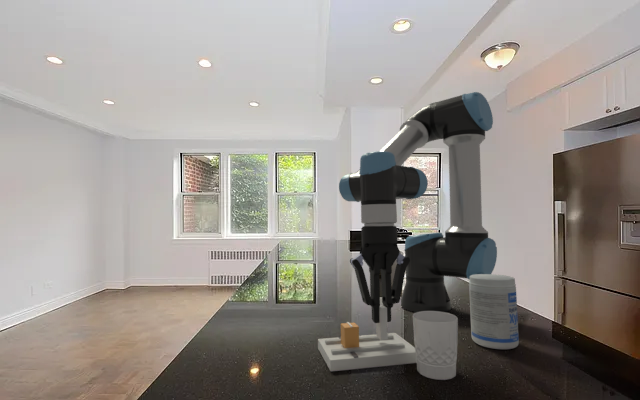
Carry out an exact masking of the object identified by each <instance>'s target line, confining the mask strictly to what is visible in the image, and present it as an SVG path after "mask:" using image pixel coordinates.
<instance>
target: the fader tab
mask: <svg viewBox="0 0 640 400" xmlns="http://www.w3.org/2000/svg"><path fill="white" fill-rule="evenodd" d="M340 336H341V344H342V345H343V346H344V348H353V347H359V336H360V327H359V325H358V324H357V323H355V322H349V321H346V322H344V323H340Z"/></svg>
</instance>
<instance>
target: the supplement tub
mask: <svg viewBox="0 0 640 400" xmlns="http://www.w3.org/2000/svg"><path fill="white" fill-rule="evenodd" d="M468 281H469V282H468V287H469V289H468V290H469V291H468V293H469V310H470V313H469V314H470V332H471V333H470V334H471V339H472V341H473V342H474V343H475V344H477V345H479V346H481V347H483V348H488V349H495V350H511V349H515V348H517V347H518V346H519V344H520V341H519V340H520V338H519V337H520V336H519V319H518V318H519V316H518V303H517V302H518V301H517V299H518V298H517V287H516V285H517V284H516V280H515V278H514V276H511V275H504V274H494V273H493V274H492V273H491V274H475V275H471V276H470V280H468Z"/></svg>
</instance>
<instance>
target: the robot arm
mask: <svg viewBox="0 0 640 400" xmlns="http://www.w3.org/2000/svg"><path fill="white" fill-rule="evenodd" d="M493 123H494V117H493V113H492V110H491V107H490V104H489V102H488V100H487V98H486V97H485V95H483V94H482V93H481V92H478V91H475V92H474V91H472V92H469V93H468V92H467V93H463V94H461V95H458V96H457V95H456V96H454V97H450V98H446V99H443V100H439V101H435V102H430V103H429V104H427V105H425V106H423V107H421V108H420V109H419V110H417V111H416V112H414V113H413V114H412V115H411V116H410V117H408V119H406V120H405V121H404V122H403V123H401V126H400V128H399V130H398V132H397V133H396V134H395V135H394V136H392V138H390V140H389V141H388V142H386V144H384V145H383V146H382V148H380V149H379V150H378V151H377V150H376V151H369V152H366V153H363V154H362V155H361V156H360V160H359V169H358V170H357V171H355V172H354V173H353V172H350V173H348V174H345V175H343V176H342V177H341V178H340V180H339V183H338V191H339V194H340V196H341V198H342V199H343V200H345V202H355V203H360V217H361V219H360V220H361V221H360V222H361V224H363V226H362V227H361V228H360V229H361V233H360V234H361V248H360V250H359V254H358V255H357V256H355V257H352V258H350V259H349V262H350V265H351V266H352V268H353V269H354V272H355V275H356V280H357V285H358V288H359V293H360V295H361V300H362V302H363V303H365V304H366V305H367V306H370V307H371V319H372V322H373V323H374V324H375V332H376V333H375V334H376V336H377V337H378V338H379V339H380V340H388V333H389V332H388V328H389V327H388V323H391V321H392V308H393V307H394V305H395V304H398V303H400V306H402V307H403V308H402V307H401V308H402V309H404V310H406V309H407V310H406V311H410V312H414V313H416V312H420V311H440V312H446V313H448V312H449V311H451V309H452V301H451V298H450V296H449V293H448V290H447V287H446V285H445V277H450V278H459V279H460V278H461V279H468V281H470V276H471V275H475V274H492V273H493V272H494V269H495V266H496V263H497V258H498V248H497V246H496V245H497V243H496V241H495V240H494V239H493V238H491V237H489V232H488V231H487V229H485V227H484V226H483V215H482V213H483V211H482V180H481V177H482V175H481V147H480V146H481V144H482V142H484V140H485V139H486V132H488V131H490V130H492V129H493ZM437 140H442V141H443V144H445V145H446V146H447V147H448V173H449V176H448V177H449V179H448V180H449V181H448V182H449V216H450V217H449V221H450V222H449V224H450V225H449V227H448V228H447V229H446V230H445V231H444V235H445V237H444V235H443V233H442V232H432V233H424V234H423V233H422V234H415V235H410V236H407V237H406V238H405V241H404V242H405V243H404V254H402V253H400V252H401V251H400V248H399V247H398V226H396V225H395V224H396V223H398V215H397V200H401V199H403V200H404V199H406V200H414V199H415V200H416V199H419V198H421V197H422V196H423V195H425V193H426V192H427V189H428V183H429V181H428V178H427V175H426V174H425V173H424V171H422V170H421V169H419V168H416V167H413V166H404V165H403V164H404V163H405V162H406V161H407V160H408V159H409V158H410V157H411V156H412V155H413V153H414V152H416V151H417V149H420V148H423V147H425V145H427V143H430V142H434V141H437ZM364 262H365V264H366V265H367V266H368V272H369V284H370V285H369V286H368V282H367V278H366V273H365V271H364V267H363V266H364ZM395 262H396V266H395V268H394V270H395V271H394V274H393V275H394V276H393V280H392V273H393V272H392V271H393V270H392V269H393V265H394V264H395ZM380 276H381V277H380ZM380 278H381V288H380ZM404 281H405V285H404ZM403 285H404V288H403ZM369 287H370V288H369ZM380 290H381V291H380ZM380 294H381V295H380ZM380 296H381V298H380ZM381 302H382V304H381Z"/></svg>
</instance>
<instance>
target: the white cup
mask: <svg viewBox="0 0 640 400" xmlns="http://www.w3.org/2000/svg"><path fill="white" fill-rule="evenodd" d="M412 323H413V325H412V327H413V340H414V342H413V343H414V347H415V353H416V356H417V363H416V371H417V372H418V374H419V375H422V376H423V377H424V378H428V379H432V380H436V381H437V380H439V381H446V380H451V379H454V378H455V377H456V376H457V360H458V341H459V340H458V338H459V337H458V335H459V334H458V333H459V331H458V328H459V325H458V324H459V319H458V316H456V315H455V314H452V313H450V312H440V311H420V312H414V313H413V314H412Z"/></svg>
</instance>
